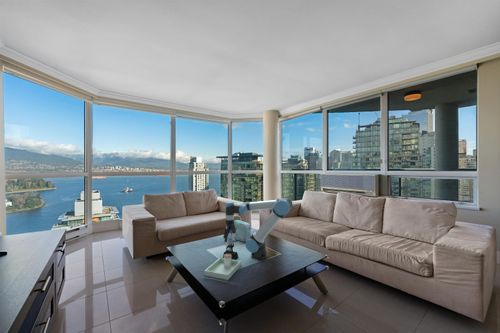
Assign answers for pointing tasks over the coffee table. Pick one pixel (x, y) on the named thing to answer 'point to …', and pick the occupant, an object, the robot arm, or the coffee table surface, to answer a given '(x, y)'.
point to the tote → (222, 269)
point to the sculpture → (231, 252)
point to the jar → (227, 260)
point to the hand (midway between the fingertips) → (230, 242)
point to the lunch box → (242, 230)
